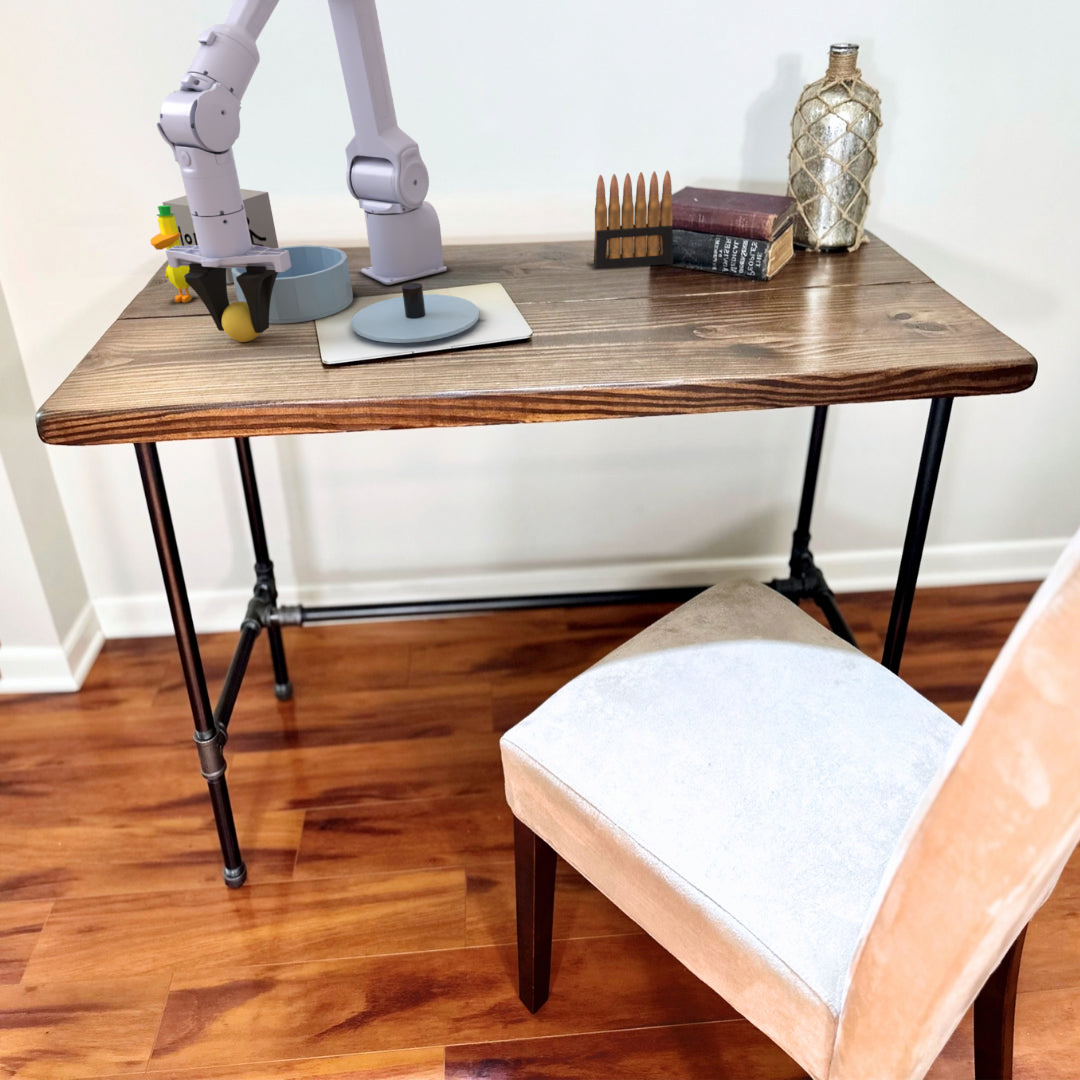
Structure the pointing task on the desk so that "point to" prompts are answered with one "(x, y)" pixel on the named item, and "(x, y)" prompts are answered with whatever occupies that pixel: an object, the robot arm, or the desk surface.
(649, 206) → the ammunition clip
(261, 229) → the icon cube
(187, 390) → the desk surface
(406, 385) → the desk surface
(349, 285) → the pot
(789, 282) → the desk surface
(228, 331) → the ball
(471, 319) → the lid
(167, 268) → the toy figure
